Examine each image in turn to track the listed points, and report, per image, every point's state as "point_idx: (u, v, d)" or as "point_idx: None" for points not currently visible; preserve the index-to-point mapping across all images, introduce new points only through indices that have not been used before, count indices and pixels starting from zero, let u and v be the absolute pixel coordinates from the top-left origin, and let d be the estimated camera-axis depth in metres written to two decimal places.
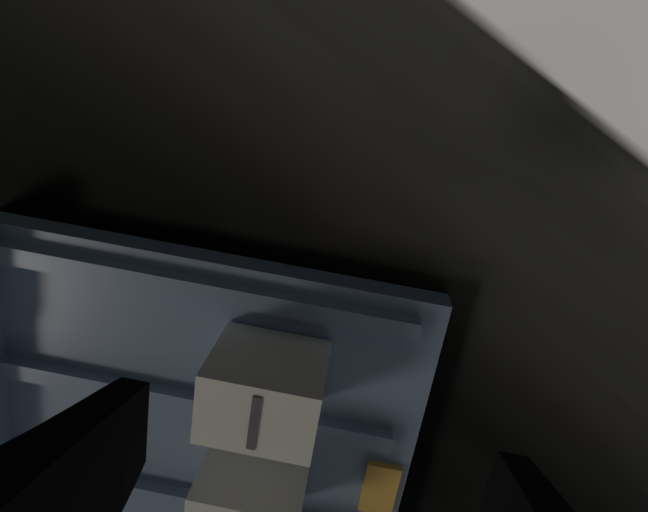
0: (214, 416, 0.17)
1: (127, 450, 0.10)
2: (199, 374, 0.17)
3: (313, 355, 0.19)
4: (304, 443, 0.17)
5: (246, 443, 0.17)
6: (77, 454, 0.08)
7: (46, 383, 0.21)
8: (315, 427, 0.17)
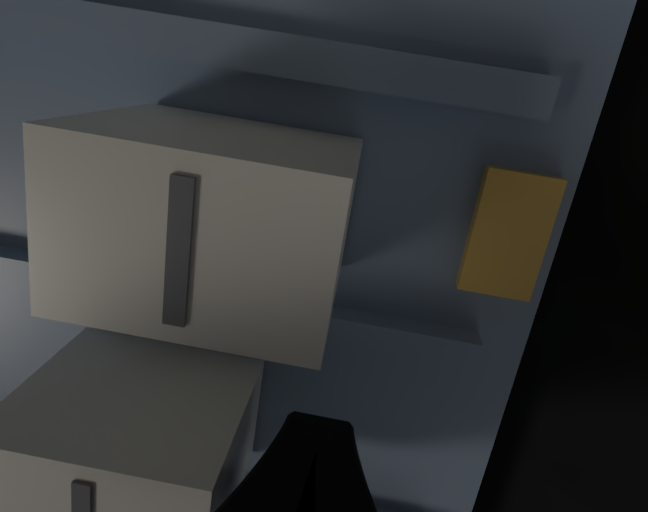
0: None
1: None
2: None
3: None
4: None
5: None
6: (301, 500, 0.08)
7: None
8: None
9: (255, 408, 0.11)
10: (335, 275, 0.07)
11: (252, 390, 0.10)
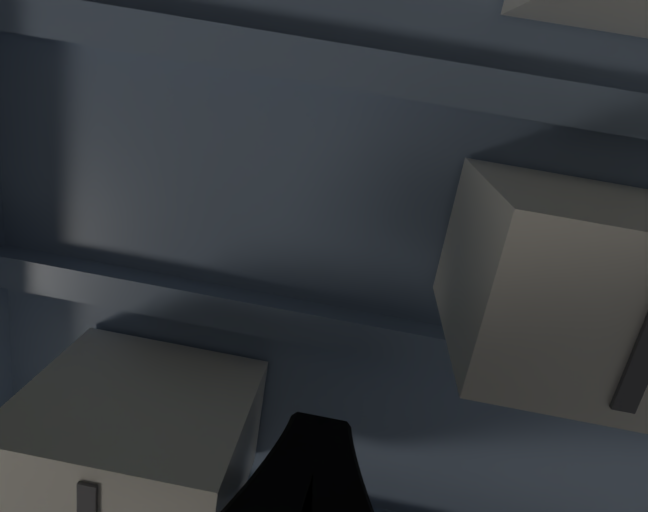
0: None
1: None
2: None
3: None
4: None
5: None
6: (305, 500, 0.08)
7: (82, 37, 0.09)
8: None
9: (259, 409, 0.11)
10: None
11: (256, 391, 0.10)
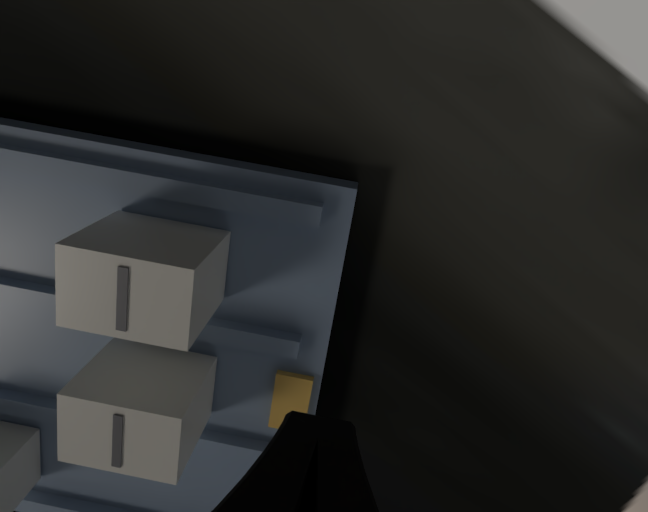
0: (79, 292, 0.15)
1: None
2: (59, 242, 0.15)
3: (202, 239, 0.17)
4: (179, 322, 0.15)
5: (116, 323, 0.15)
6: (299, 499, 0.08)
7: None
8: (189, 303, 0.15)
9: (33, 453, 0.22)
10: (178, 451, 0.17)
11: (22, 446, 0.21)
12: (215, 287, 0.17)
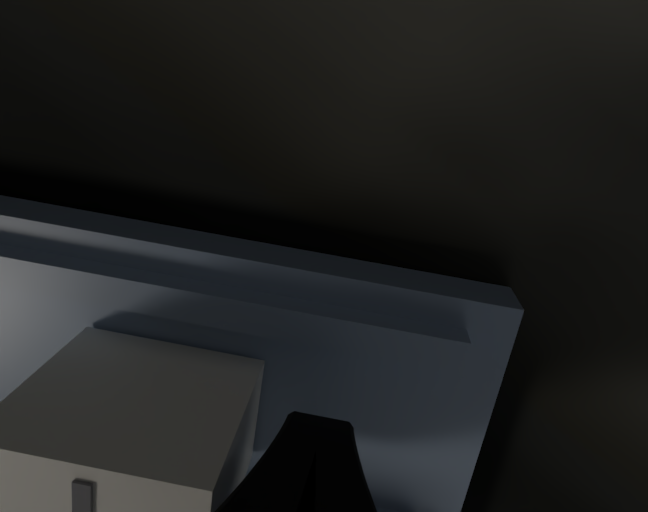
0: None
1: None
2: None
3: (222, 388, 0.10)
4: None
5: None
6: (301, 499, 0.08)
7: None
8: None
9: None
10: None
11: None
12: (242, 461, 0.11)
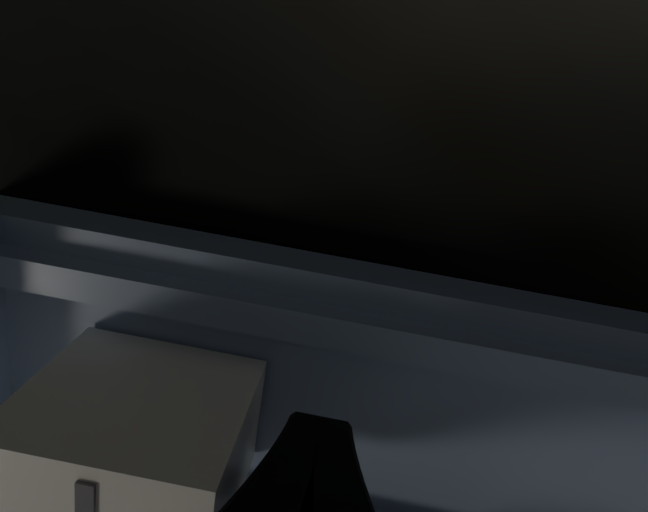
0: None
1: None
2: None
3: (224, 389, 0.10)
4: None
5: None
6: (304, 500, 0.08)
7: None
8: None
9: None
10: None
11: None
12: (244, 461, 0.11)
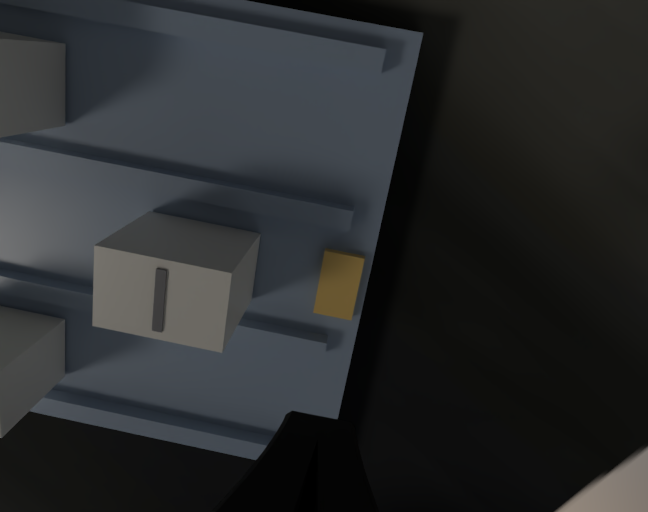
0: None
1: None
2: None
3: (22, 38, 0.16)
4: None
5: None
6: (299, 499, 0.08)
7: None
8: None
9: (59, 345, 0.20)
10: (226, 312, 0.15)
11: (48, 333, 0.19)
12: (40, 95, 0.16)
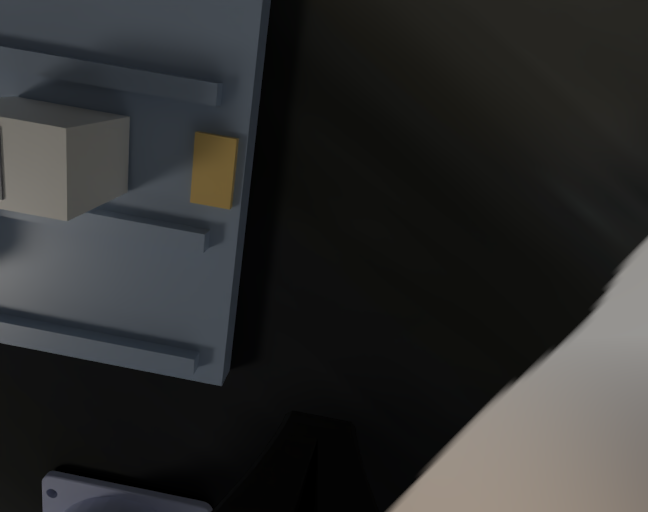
0: None
1: (308, 487, 0.10)
2: None
3: None
4: None
5: None
6: (298, 499, 0.08)
7: None
8: None
9: None
10: (65, 173, 0.14)
11: None
12: None
